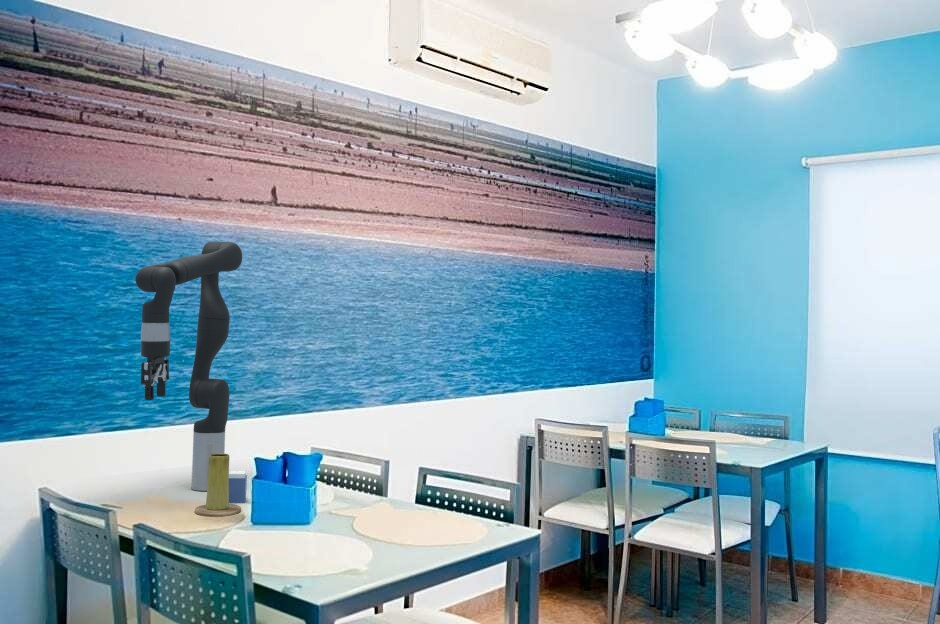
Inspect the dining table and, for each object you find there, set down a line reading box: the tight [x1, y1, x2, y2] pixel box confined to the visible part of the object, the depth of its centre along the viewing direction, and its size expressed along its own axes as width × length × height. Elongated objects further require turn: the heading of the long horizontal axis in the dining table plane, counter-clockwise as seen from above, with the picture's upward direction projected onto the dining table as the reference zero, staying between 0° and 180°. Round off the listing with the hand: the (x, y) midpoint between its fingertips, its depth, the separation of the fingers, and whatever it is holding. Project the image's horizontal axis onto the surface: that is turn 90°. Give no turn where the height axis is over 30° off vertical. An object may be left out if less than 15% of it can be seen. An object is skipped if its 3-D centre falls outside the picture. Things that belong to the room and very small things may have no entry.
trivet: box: [194, 503, 242, 518], centre depth 230 cm, size 12×12×1 cm
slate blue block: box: [229, 470, 248, 504], centre depth 243 cm, size 5×5×8 cm
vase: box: [205, 453, 230, 510], centre depth 230 cm, size 6×6×14 cm
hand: (155, 398), depth 235 cm, fingers open, 8 cm apart
